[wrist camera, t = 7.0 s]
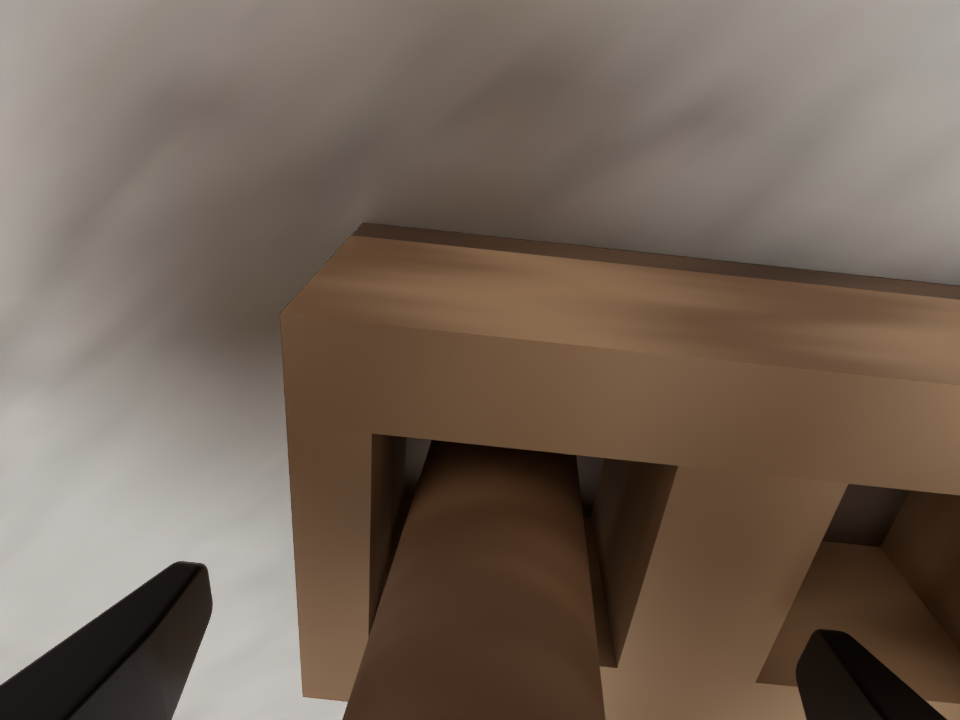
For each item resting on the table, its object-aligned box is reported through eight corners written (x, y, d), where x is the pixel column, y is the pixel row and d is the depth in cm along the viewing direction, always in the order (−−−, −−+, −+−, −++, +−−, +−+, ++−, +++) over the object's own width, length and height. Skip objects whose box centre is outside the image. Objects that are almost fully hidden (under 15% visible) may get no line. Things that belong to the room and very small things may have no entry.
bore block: (1032, 294, 12) (1325, 424, 8) (880, 573, 16) (1022, 771, 12) (362, 222, 12) (279, 313, 8) (360, 519, 16) (303, 696, 12)
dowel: (585, 381, 13) (676, 909, 4) (560, 498, 14) (594, 1085, 6) (445, 360, 13) (270, 837, 4) (432, 478, 14) (277, 1024, 6)
